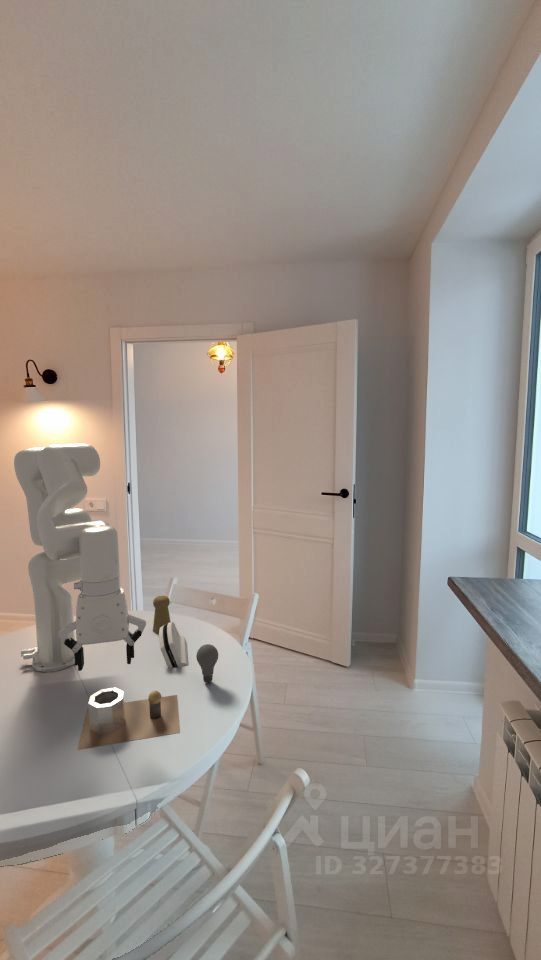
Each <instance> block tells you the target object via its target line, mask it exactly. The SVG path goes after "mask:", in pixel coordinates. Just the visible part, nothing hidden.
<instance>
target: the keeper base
mask: <svg viewBox="0 0 541 960" xmlns="http://www.w3.org/2000/svg"><path fill="white" fill-rule="evenodd" d="M124 713H125V719H124V725H123V726H122V727H120V728H119V729H117V730H116V731H115V732H113V733H107V734H101V735H98V734H96V733H94V732H92V731H90V720H89V707H87V710H86V714H85V718H84V723H83V726H82V730H81V733H80V734H81V735H80V738H79V742H78V746H77V751H78V750H85V749H90V748H91V749H92V748H98V747H103V746H110V745H115V744H122V743H127V742H132V741H138V740H145V739H146V740H147V739H151V738H157V737H164V736H168V735H175V734H180V733H181V728H180V713H179V700H178V694H174V695H167V696H162V693H161V692H159V691H158V690H152V691H151V692H150V693H149V694H148V698H145V699H139V700H133V701H127V702H125V701H124Z"/></svg>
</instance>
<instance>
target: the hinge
mask: <svg viewBox="0 0 541 960" xmlns="http://www.w3.org/2000/svg"><path fill="white" fill-rule="evenodd" d="M158 642H159V647H160V652H161V653H162V657H163V659H164V661H165V664H166V666H167V669H175V668H182V667H189V659H188V658H189V656H188V644H187V640H186V638H185V637H183V636H181V635H180V634H179V631H178V629H177V627H176V625H175V623H174V621H171V622H170V623H168V624H167V625H163V626H162V627H161V628H160V630H159V634H158Z"/></svg>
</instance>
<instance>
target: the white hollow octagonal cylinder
mask: <svg viewBox="0 0 541 960" xmlns="http://www.w3.org/2000/svg"><path fill="white" fill-rule="evenodd" d="M124 695H125V693H124V690H121V689H119V688H117V687H110V688H109V687H108V688H102V689H100V690H98V691H97V692H94V693H93V694H91V695H89V696H90V697H89V701H88V708H89V720H90V731H92V732H94V733H96V734H98V735H101V734H107V733H113V732H115V731H116V730H117V729H119V728H120V727H122V726H123V725H124V719H125V713H124V703H125V698H124V697H125V696H124Z"/></svg>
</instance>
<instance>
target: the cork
mask: <svg viewBox="0 0 541 960" xmlns="http://www.w3.org/2000/svg"><path fill="white" fill-rule="evenodd" d="M170 602H171V601H170V598H169V596H167V595H158V596H156V597H155V598H154V599H153V600H152V603H153V605H152V606H153V608H154V615H153V616H154V617H153V627H152V633H154V634H157V635H159V630H160V628H161V627H162V626H163V625H167V624H168V623H170V622H172V621H171V615H170V611H169V606H170Z"/></svg>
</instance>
